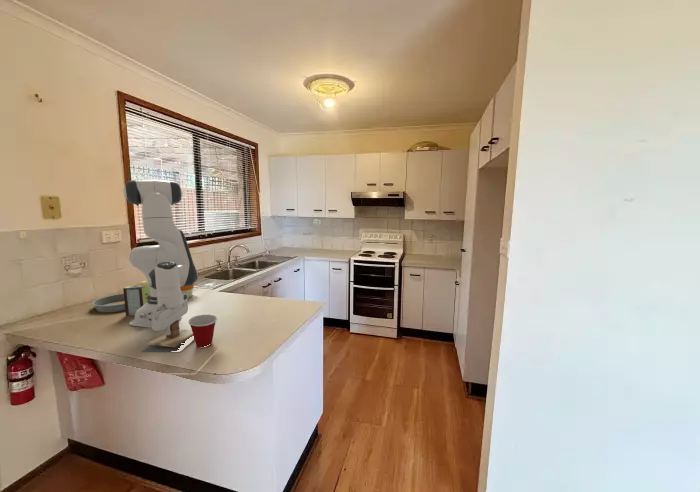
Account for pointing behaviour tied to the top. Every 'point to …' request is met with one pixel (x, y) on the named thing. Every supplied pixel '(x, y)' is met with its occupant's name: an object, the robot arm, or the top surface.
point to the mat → (161, 348)
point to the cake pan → (104, 305)
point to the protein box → (135, 297)
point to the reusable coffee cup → (187, 290)
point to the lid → (172, 336)
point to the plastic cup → (203, 329)
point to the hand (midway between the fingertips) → (172, 331)
